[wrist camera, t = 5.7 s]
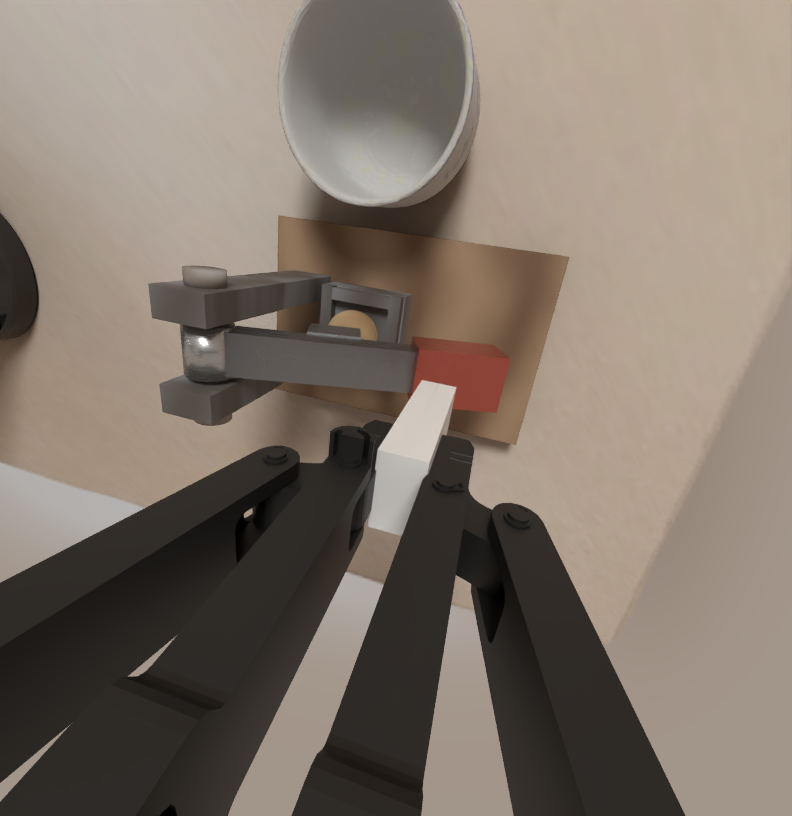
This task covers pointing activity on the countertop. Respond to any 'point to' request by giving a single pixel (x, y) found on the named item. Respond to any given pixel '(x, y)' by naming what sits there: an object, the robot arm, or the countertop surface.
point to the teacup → (379, 97)
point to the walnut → (356, 323)
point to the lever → (346, 361)
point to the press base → (437, 306)
